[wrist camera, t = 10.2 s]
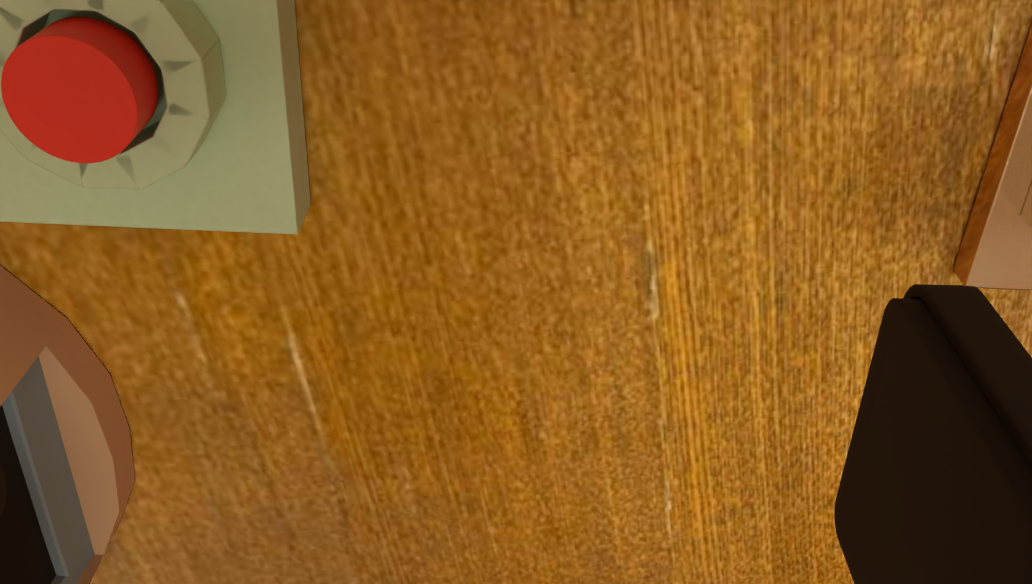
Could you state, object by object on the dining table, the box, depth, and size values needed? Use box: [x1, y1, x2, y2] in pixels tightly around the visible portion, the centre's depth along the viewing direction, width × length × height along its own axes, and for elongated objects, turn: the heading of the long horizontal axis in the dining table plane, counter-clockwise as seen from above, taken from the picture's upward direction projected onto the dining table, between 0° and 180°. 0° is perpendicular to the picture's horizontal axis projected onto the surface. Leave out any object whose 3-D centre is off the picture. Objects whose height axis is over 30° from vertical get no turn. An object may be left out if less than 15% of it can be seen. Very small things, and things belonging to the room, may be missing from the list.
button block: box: [0, 0, 311, 234], centre depth 29 cm, size 11×10×4 cm
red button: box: [1, 17, 159, 163], centre depth 27 cm, size 4×4×2 cm
